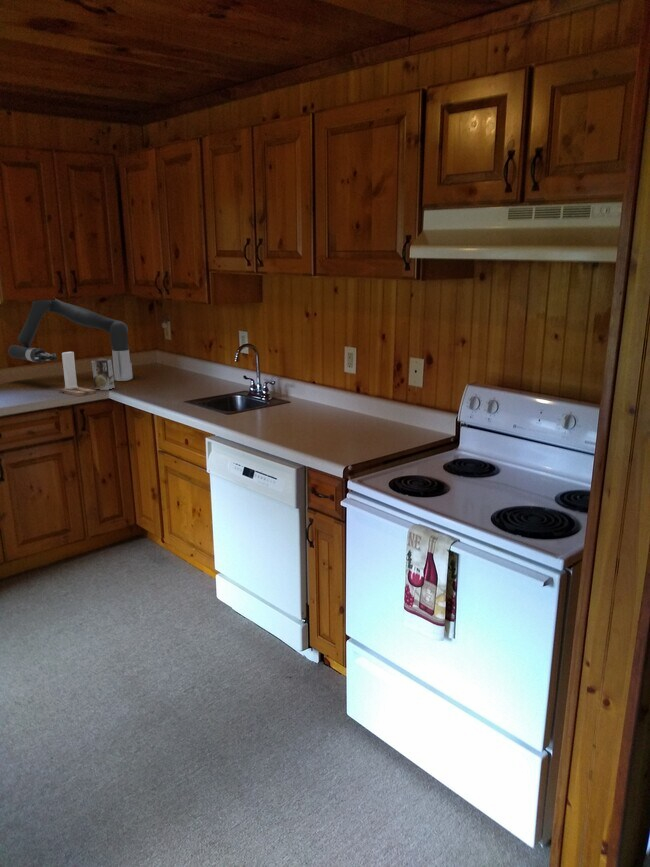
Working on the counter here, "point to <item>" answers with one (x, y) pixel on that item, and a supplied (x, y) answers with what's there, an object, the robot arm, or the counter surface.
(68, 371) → the slider tab
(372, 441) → the counter surface
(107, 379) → the coffee box
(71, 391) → the slider board
